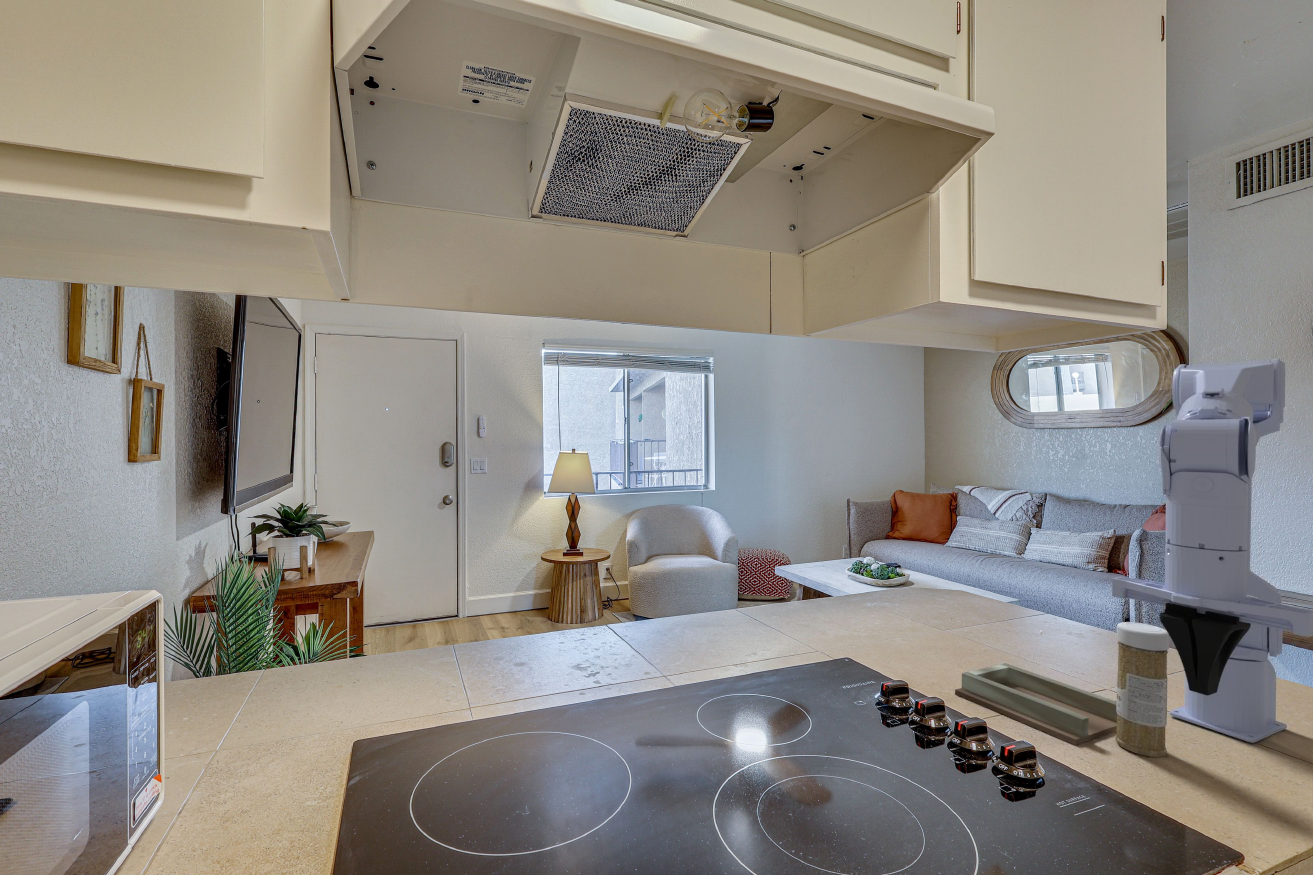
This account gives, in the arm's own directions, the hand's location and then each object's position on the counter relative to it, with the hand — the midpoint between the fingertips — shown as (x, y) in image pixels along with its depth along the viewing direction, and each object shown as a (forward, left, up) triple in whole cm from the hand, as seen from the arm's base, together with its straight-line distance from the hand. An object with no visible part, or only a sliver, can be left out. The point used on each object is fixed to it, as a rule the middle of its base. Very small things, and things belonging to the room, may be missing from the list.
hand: (1203, 691), depth 57 cm
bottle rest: (-7, -19, -10) cm, 23 cm away
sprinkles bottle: (-7, -8, -11) cm, 15 cm away
